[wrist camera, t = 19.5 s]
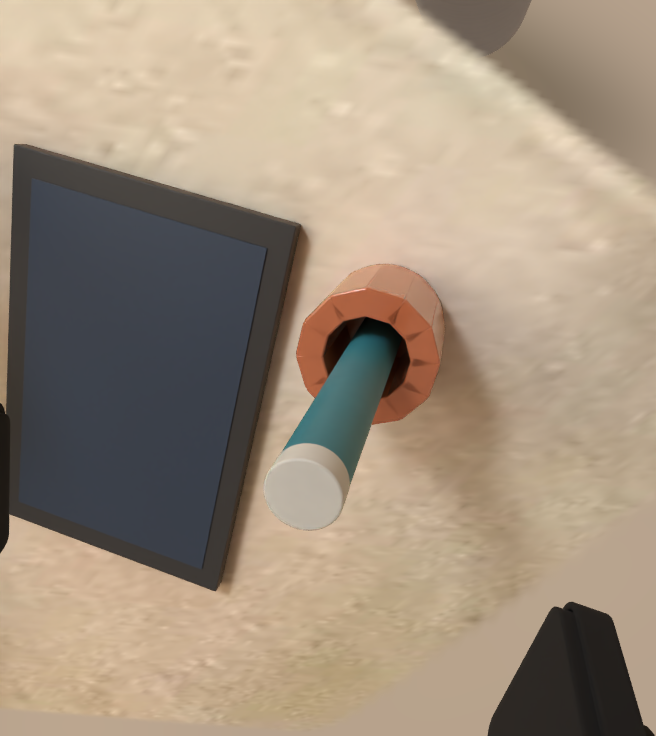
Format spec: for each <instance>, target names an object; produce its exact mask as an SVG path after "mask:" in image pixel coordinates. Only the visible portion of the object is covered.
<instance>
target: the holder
mask: <svg viewBox="0 0 656 736" xmlns="http://www.w3.org/2000/svg"><path fill="white" fill-rule="evenodd" d="M366 317H369V318H372V319H375V320H379V321H382V322H385V323H388V324H390V325H391V326H392V327H393V328H394V329H395V330H396V331H397V332H398V333H399V334H400V335H401V336H402V340H401V343H400V346H399V349H398V351H397V354H396V357H395V360H394V363H393V366H392V368H391V371H390V374H389V377H388V380H387V382H386V385H385V388H384V391H383V394H382V396H381V399H380V402H379V405H378V408H377V411H376V413H375V416H374V419H373V422H372V425H373V424H379V423H386V422H392V421H398V420H400V419H403V418H404V417H405V416H407V415H408V414H409V413H410V412H412V411H413V410H414V409H415V408H417V407H418V406H419V405H420V404H422V403H423V402H424V401H425V400H427V399H428V397H429V396H430V393H431V390H432V387H433V384H434V382H435V379H436V376H437V373H438V370H439V367H440V363H441V355H442V348H443V340H444V333H445V325H444V317H443V310H442V307H441V303H440V301H439V299H438V296H437V295H436V293H435V291H434V290H433V288H432V287H431V286H430V285H429V283H428V282H427V281H425V280H424V279H423V278H422V277H421V276H419V275H418V274H417V273H415V272H413V271H411V270H409V269H407V268H404V267H401V266H397V265H392V264H376V265H371V266H367V267H364V268H361V269H359V270H357V271H354V272H353V273H351V274H350V275H349V276H348V277H347V278H346V279H345V280H343V281H342V282H341V283H340V284H339V285H338V286H337V287H336V288H335V289H334V290H333V291H332V292H331V293H330V294H329V295H328V296H327V297H326V299H325V300H324V301H323V302H322V303H321V304H320V305H319V306H318V307H317V308H316V309H315V310H314V311H313V312H312V313H311V314H310V315H309V316H308V317H307V318H306V319H305V321H304V323H303V326H302V330H301V334H300V339H299V343H298V347H297V351H296V355H297V357H296V358H297V361H298V364H299V367H300V371H301V374H302V377H303V381H304V384H305V387H306V388H307V390H308V392H309V393H310V394H311V395H312V396H313V397H314V398H316V396H317V394H318V393H319V391H320V390H321V388H322V386H323V385H324V383H325V382H326V380H327V378H328V377H329V375H330V374H331V372H332V370H333V369H334V367H335V365H336V364H337V362H338V361H339V359H340V357H341V356H342V354H343V353H344V351H345V349H346V348H347V346H348V345H349V343H350V341H351V340H352V338H353V337H354V335H355V333H356V332H357V330H358V328H359V327H360V325H361V324H362V322H363V320H364V319H365V318H366Z"/></svg>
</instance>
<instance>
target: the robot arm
mask: <svg viewBox="0 0 656 736" xmlns="http://www.w3.org/2000/svg"><path fill="white" fill-rule="evenodd" d="M9 493H10V418H9V416H8V415H6V414H5V411H4V407H3V406H2V404H0V553H1V551H2V550H3V549H4V547H5V545H6V543H7V540H8V537H9ZM488 736H654V734H653V733H652V731H651V730H650V729H649V728H648V727H647V726H645V725H643V722H642V718H641V715H640V711H639V708H638V705H637V701H636V698H635V694H634V691H633V687H632V684H631V681H630V677H629V674H628V670H627V667H626V663H625V660H624V657H623V653H622V650H621V647H620V643H619V640H618V636H617V633H616V629H615V626H614V623H613V620H612V618H611V617H610V616H609V615H608V614H606V613H603V612H600V611H597V610H594V609H591V608H589V607H586V606H583V605H580V604H577V603H574V602H569V603H567V604H566V605H565V606H564V608H563V609H562V608H559V607H553V608H552V609H551V610H550V612H549V614H548V615H547V617H546V619H545V621H544V623H543V624H542V626H541V628H540V630H539V632H538V634H537V636H536V637H535V639H534V641H533V643H532V645H531V647H530V648H529V650H528V652H527V654H526V656H525V658H524V659H523V661H522V663H521V665H520V667H519V669H518V670H517V672H516V674H515V676H514V678H513V680H512V682H511V684H510V685H509V687H508V689H507V691H506V693H505V694H504V696H503V698H502V700H501V702H500V704H499V705H498V707H497V709H496V711H495V713H494V715H493V717H492V719H491V722H490V725H489V730H488Z"/></svg>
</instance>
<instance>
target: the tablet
mask: <svg viewBox="0 0 656 736" xmlns="http://www.w3.org/2000/svg"><path fill="white" fill-rule="evenodd" d="M300 227H301V225H300V224H298V223H294V222H291V221H287V220H284V219H281V218H277V217H274V216H270V215H267V214H263V213H260V212H257V211H253V210H250V209H246V208H243V207H239V206H236V205H233V204H229V203H226V202H222V201H219V200H215V199H212V198H209V197H205V196H202V195H198V194H195V193H191V192H188V191H185V190H181V189H178V188H174V187H171V186H167V185H164V184H161V183H157V182H154V181H150V180H147V179H143V178H140V177H137V176H133V175H130V174H126V173H123V172H119V171H116V170H113V169H109V168H106V167H102V166H99V165H95V164H92V163H89V162H85V161H82V160H78V159H75V158H71V157H68V156H65V155H61V154H58V153H54V152H51V151H47V150H44V149H41V148H37V147H34V146H30V145H27V144H14V158H13V193H12V229H11V264H10V299H9V334H8V369H7V404H6V415H8V416H9V418H10V493H9V514H10V515H13V516H16V517H18V518H21V519H24V520H26V521H29V522H32V523H34V524H37V525H40V526H42V527H45V528H48V529H50V530H53V531H56V532H58V533H61V534H64V535H66V536H69V537H72V538H74V539H77V540H80V541H82V542H85V543H88V544H90V545H93V546H96V547H98V548H101V549H104V550H106V551H109V552H112V553H114V554H117V555H120V556H122V557H125V558H128V559H130V560H133V561H136V562H138V563H141V564H144V565H146V566H149V567H152V568H154V569H157V570H160V571H162V572H165V573H168V574H170V575H173V576H176V577H178V578H181V579H184V580H186V581H189V582H192V583H194V584H197V585H200V586H202V587H205V588H208V589H210V590H213V591H216V590H217V589H218V587H219V585H220V583H221V581H222V577H223V572H224V568H225V563H226V559H227V554H228V550H229V545H230V541H231V536H232V532H233V528H234V523H235V519H236V514H237V510H238V505H239V501H240V496H241V492H242V487H243V483H244V478H245V474H246V469H247V465H248V460H249V456H250V451H251V447H252V442H253V438H254V433H255V429H256V424H257V420H258V415H259V411H260V406H261V402H262V397H263V393H264V389H265V384H266V380H267V375H268V371H269V366H270V362H271V357H272V353H273V348H274V344H275V339H276V335H277V330H278V326H279V321H280V317H281V312H282V308H283V303H284V299H285V294H286V290H287V285H288V281H289V276H290V272H291V267H292V263H293V258H294V254H295V250H296V245H297V241H298V236H299V232H300Z"/></svg>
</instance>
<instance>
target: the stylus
mask: <svg viewBox="0 0 656 736" xmlns="http://www.w3.org/2000/svg"><path fill="white" fill-rule="evenodd" d="M401 340H402V336H401V335H400V334H399V333H398V332H397V331H396V330H395V329H394V328H393V327H392V326H391V325H390V324H388V323H385V322H382V321H379V320H375V319H372V318H369V317H366V318H365V319H364V320H363V322H362V324H361V325H360V327H359V328H358V330H357V332H356V333H355V335H354V337H353V338H352V340H351V341H350V343H349V345H348V346H347V348H346V349H345V351H344V353H343V354H342V356H341V357H340V359H339V361H338V362H337V364H336V365H335V367H334V369H333V370H332V372H331V374H330V375H329V377H328V378H327V380H326V382H325V383H324V385H323V386H322V388H321V390H320V391H319V393H318V394H317V396H316V398H315V399H314V401H313V403H312V404H311V406H310V407H309V409H308V411H307V412H306V414H305V415H304V417H303V419H302V420H301V422H300V423H299V425H298V427H297V428H296V430H295V431H294V433H293V435H292V436H291V438H290V440H289V441H288V443H287V444H286V446H285V448H284V449H283V451H282V452H281V454H280V455H279V456H278V457H277V459H276V460H275V462H274V464H273V465H272V467H271V468H270V470H269V472H268V473H267V475H266V478H265V481H264V496H265V500H266V503H267V505H268V507H269V509H270V510H271V511H272V513H273V514H274V515H275V516H276V517H277V518H278V519H279V520H280V521H282V522H283V523H285V524H287V525H289V526H291V527H293V528H296V529H300V530H308V531H310V530H318V529H322V528H324V527H327V526H328V525H330V524H332V523H333V522H334V521H335V520H336V519H337V518H338V517H339V515H340V513H341V511H342V509H343V506H344V503H345V500H346V498H347V495H348V492H349V487H350V484H351V481H352V478H353V475H354V472H355V470H356V467H357V464H358V461H359V458H360V455H361V453H362V450H363V447H364V444H365V441H366V439H367V436H368V433H369V430H370V427H371V425H372V422H373V419H374V416H375V413H376V411H377V408H378V405H379V402H380V399H381V396H382V394H383V391H384V388H385V385H386V382H387V380H388V377H389V374H390V371H391V368H392V366H393V363H394V360H395V357H396V354H397V351H398V349H399V346H400V343H401Z"/></svg>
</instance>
